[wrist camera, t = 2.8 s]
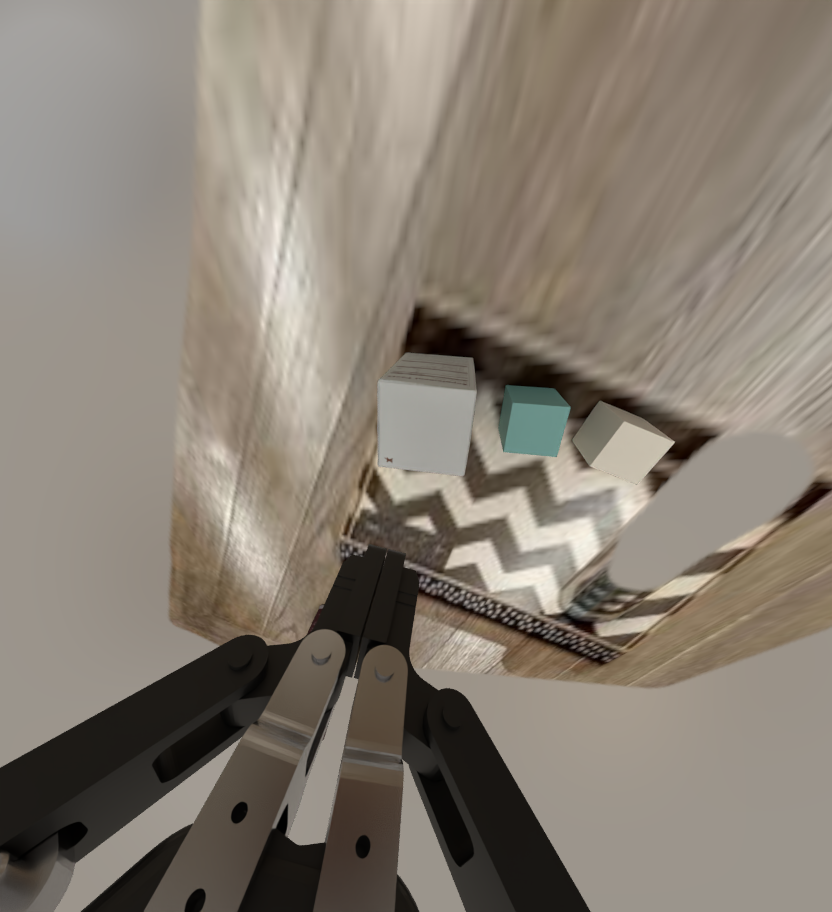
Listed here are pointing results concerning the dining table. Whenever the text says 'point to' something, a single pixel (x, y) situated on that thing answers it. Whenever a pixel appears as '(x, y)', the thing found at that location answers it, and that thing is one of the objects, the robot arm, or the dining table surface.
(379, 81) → the dining table surface
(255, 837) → the robot arm
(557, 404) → the teal block
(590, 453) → the cream block
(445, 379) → the supplement box
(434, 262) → the dining table surface
